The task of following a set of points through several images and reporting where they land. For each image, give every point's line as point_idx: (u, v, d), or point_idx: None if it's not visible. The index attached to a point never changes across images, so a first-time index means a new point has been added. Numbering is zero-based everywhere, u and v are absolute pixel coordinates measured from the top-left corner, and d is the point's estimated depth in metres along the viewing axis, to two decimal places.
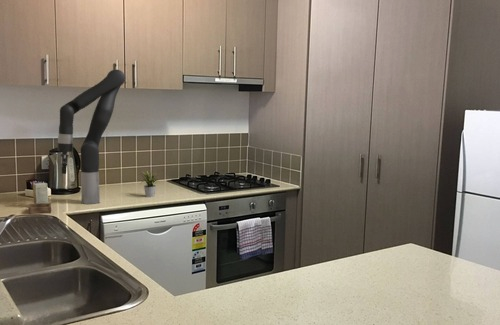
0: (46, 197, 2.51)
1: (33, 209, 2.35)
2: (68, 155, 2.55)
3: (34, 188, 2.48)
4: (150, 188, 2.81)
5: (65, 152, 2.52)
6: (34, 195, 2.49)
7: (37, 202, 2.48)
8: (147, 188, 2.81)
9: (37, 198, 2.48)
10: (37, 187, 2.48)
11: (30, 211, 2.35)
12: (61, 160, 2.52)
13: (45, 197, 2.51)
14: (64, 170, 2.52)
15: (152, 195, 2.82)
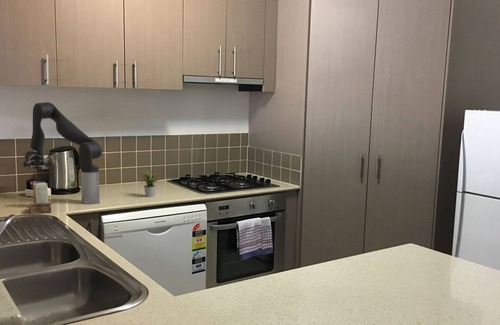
0: (46, 197, 2.51)
1: (33, 209, 2.35)
2: (33, 159, 2.66)
3: (34, 188, 2.48)
4: (150, 188, 2.81)
5: None
6: (34, 195, 2.49)
7: (37, 202, 2.48)
8: (147, 188, 2.81)
9: (37, 198, 2.48)
10: (37, 186, 2.48)
11: (30, 211, 2.35)
12: (30, 166, 2.63)
13: (45, 197, 2.51)
14: (27, 165, 2.58)
15: (152, 195, 2.82)
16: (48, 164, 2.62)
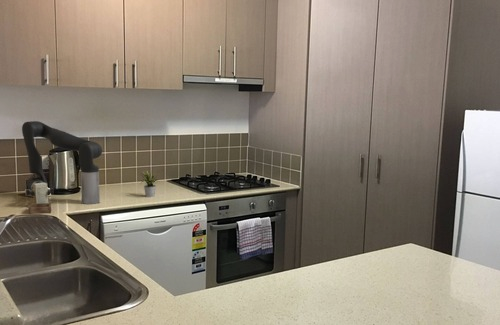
0: (46, 197, 2.51)
1: (33, 209, 2.35)
2: None
3: (34, 188, 2.48)
4: (150, 188, 2.81)
5: (31, 189, 2.58)
6: (34, 195, 2.49)
7: (37, 202, 2.48)
8: (147, 188, 2.81)
9: (37, 198, 2.48)
10: (37, 186, 2.48)
11: (30, 211, 2.35)
12: None
13: (45, 197, 2.51)
14: (30, 193, 2.48)
15: (152, 195, 2.82)
16: (50, 192, 2.52)
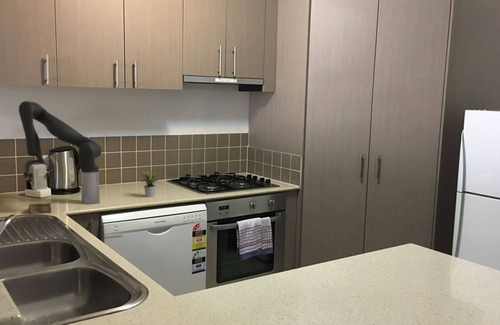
0: (45, 179, 2.39)
1: (33, 209, 2.35)
2: None
3: (32, 170, 2.36)
4: (150, 188, 2.81)
5: None
6: (32, 177, 2.37)
7: (35, 184, 2.36)
8: (147, 188, 2.81)
9: (35, 180, 2.36)
10: (35, 168, 2.35)
11: (30, 211, 2.35)
12: None
13: (44, 179, 2.39)
14: (28, 175, 2.36)
15: (152, 195, 2.82)
16: (49, 174, 2.39)
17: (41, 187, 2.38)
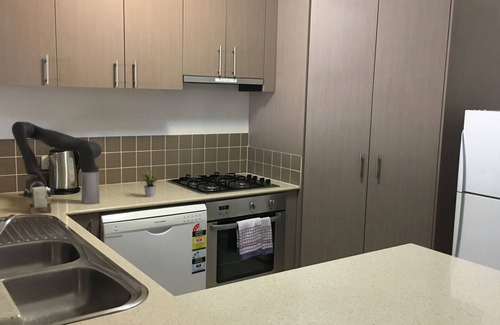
0: (45, 202, 2.40)
1: (33, 209, 2.35)
2: None
3: (32, 192, 2.37)
4: (150, 188, 2.81)
5: (30, 191, 2.46)
6: (32, 200, 2.38)
7: None
8: (147, 188, 2.81)
9: (35, 203, 2.37)
10: (36, 191, 2.37)
11: (30, 211, 2.35)
12: (31, 196, 2.43)
13: (44, 201, 2.40)
14: (28, 195, 2.37)
15: (152, 195, 2.82)
16: (50, 193, 2.41)
17: None
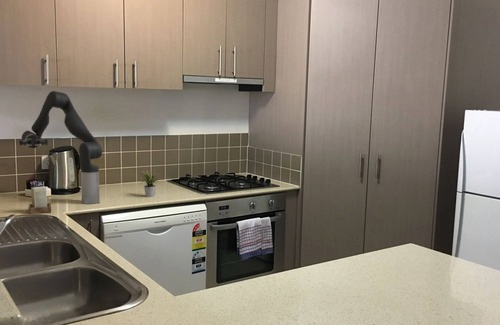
0: (45, 202, 2.40)
1: (33, 209, 2.35)
2: (30, 138, 2.66)
3: (32, 192, 2.37)
4: (150, 188, 2.81)
5: None
6: (32, 200, 2.38)
7: None
8: (147, 188, 2.81)
9: (35, 203, 2.37)
10: (36, 191, 2.37)
11: (30, 211, 2.35)
12: (26, 145, 2.63)
13: (44, 201, 2.40)
14: (23, 143, 2.58)
15: (152, 195, 2.82)
16: (44, 142, 2.62)
17: None
